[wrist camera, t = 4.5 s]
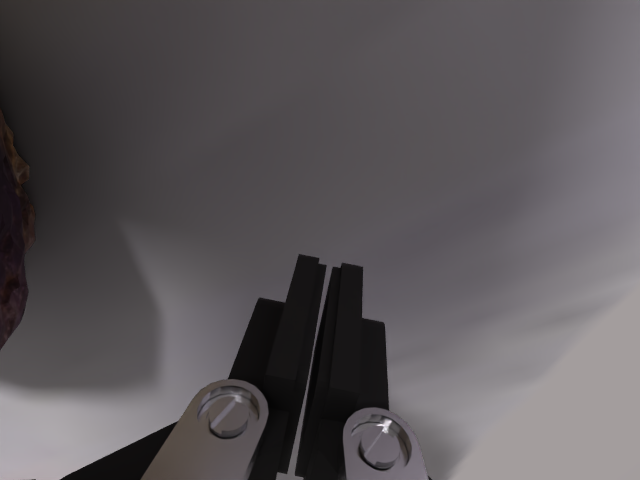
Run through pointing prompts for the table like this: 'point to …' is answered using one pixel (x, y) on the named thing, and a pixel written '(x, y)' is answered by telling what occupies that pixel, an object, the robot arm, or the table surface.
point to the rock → (13, 233)
